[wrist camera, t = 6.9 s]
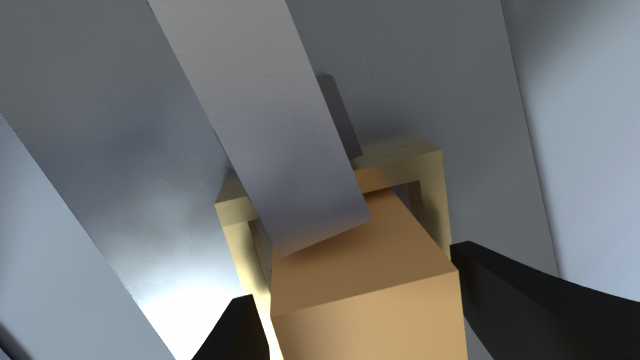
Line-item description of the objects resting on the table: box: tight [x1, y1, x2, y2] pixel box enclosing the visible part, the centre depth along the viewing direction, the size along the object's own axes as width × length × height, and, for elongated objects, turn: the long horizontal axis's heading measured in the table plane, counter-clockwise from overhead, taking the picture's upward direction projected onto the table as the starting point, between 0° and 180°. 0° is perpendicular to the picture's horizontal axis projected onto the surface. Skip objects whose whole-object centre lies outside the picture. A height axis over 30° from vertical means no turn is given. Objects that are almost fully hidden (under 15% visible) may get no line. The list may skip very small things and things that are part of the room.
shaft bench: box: [0, 0, 559, 360], centre depth 12 cm, size 15×26×5 cm, turn 22°
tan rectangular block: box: [270, 187, 468, 360], centre depth 11 cm, size 4×4×6 cm
